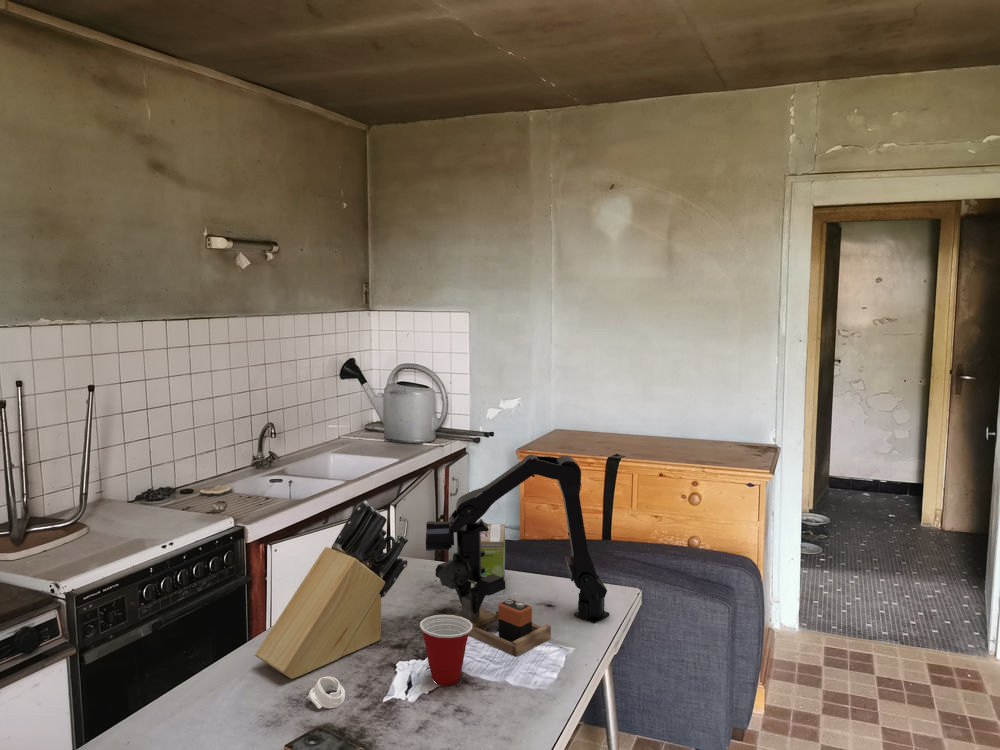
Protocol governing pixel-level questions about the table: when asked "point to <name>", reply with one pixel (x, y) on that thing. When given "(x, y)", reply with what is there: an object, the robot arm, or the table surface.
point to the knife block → (337, 598)
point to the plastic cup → (445, 646)
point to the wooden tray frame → (514, 648)
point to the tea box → (493, 551)
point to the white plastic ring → (320, 695)
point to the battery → (514, 619)
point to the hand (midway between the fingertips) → (470, 611)
